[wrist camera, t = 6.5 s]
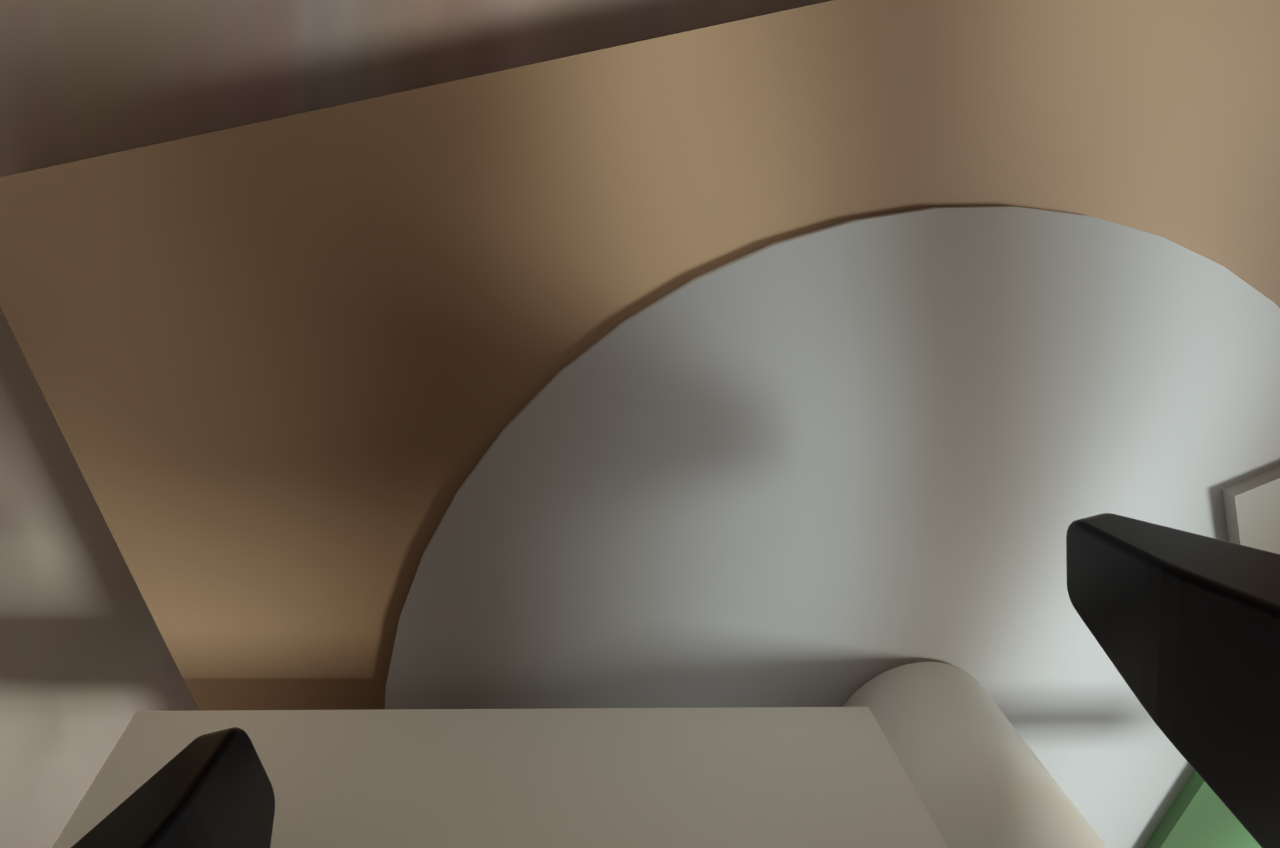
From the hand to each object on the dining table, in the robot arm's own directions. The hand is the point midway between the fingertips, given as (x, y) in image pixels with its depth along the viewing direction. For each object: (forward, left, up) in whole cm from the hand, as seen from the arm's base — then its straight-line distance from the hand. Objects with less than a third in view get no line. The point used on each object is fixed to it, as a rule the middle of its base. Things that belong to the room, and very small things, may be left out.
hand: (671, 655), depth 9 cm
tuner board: (-3, +5, -4) cm, 7 cm away
